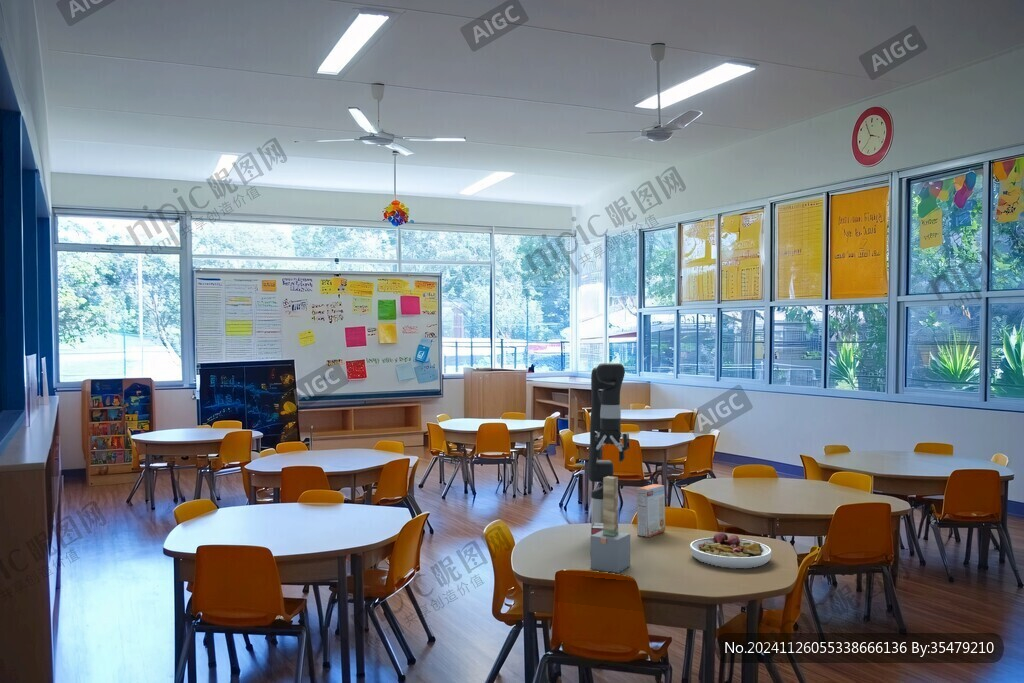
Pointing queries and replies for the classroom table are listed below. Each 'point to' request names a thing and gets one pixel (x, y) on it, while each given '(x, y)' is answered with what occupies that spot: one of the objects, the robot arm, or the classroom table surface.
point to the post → (610, 506)
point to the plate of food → (730, 551)
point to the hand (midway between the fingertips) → (610, 460)
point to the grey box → (610, 552)
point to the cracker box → (650, 510)
